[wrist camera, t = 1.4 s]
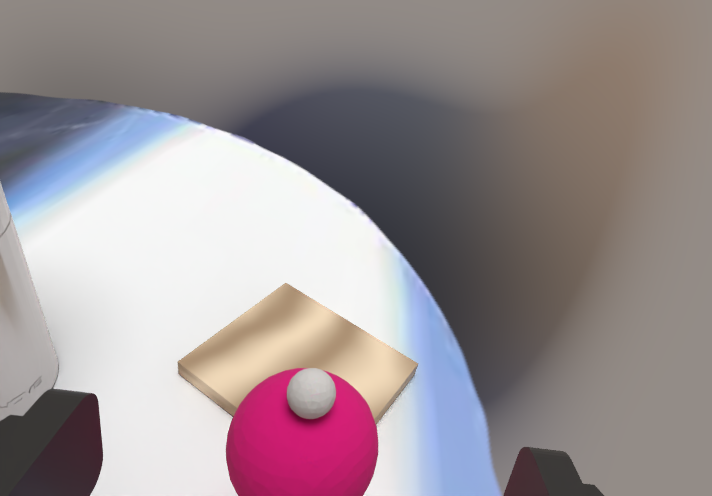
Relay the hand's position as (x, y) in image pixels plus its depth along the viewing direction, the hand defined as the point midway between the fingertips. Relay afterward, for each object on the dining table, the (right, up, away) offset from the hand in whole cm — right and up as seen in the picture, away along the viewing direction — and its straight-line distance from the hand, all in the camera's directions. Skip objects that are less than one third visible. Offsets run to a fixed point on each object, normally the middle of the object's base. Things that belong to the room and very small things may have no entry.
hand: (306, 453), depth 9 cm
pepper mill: (-4, -17, +20) cm, 26 cm away
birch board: (-4, -7, +32) cm, 33 cm away
